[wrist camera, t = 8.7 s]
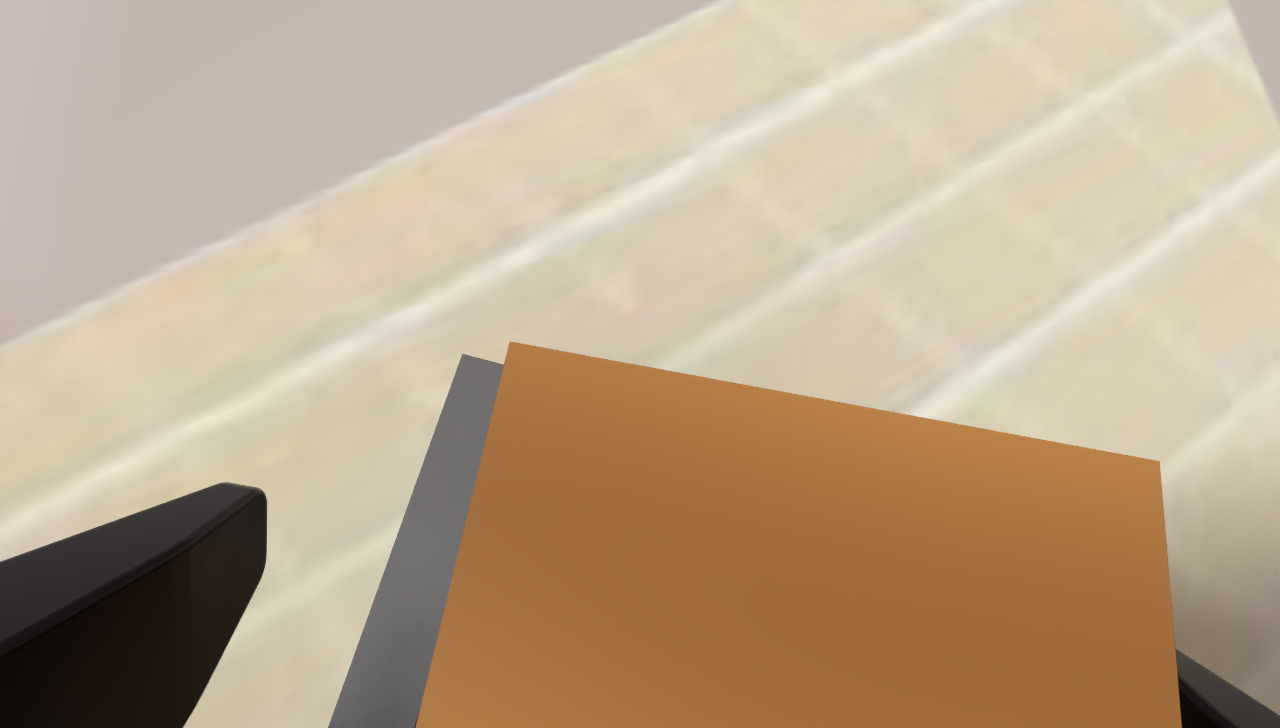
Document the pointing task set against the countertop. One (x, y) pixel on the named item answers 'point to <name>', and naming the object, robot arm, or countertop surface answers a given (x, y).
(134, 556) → the robot arm
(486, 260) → the countertop surface
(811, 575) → the walnut pin
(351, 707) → the grey rectangular frame
